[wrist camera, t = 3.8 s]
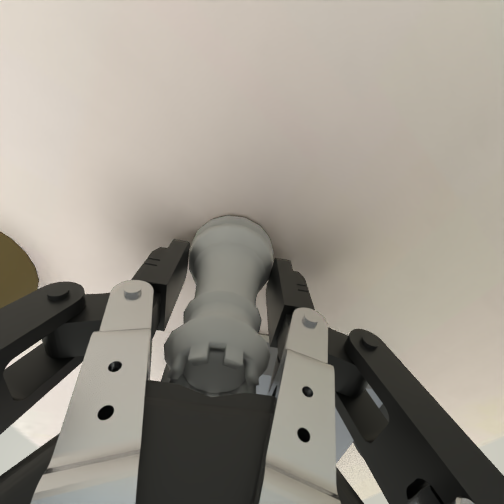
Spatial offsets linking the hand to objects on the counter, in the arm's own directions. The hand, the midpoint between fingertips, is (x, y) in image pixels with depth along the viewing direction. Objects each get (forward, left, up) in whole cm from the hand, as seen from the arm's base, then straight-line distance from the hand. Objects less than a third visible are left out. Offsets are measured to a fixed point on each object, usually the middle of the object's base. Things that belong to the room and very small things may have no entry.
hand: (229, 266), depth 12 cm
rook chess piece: (0, 0, -2) cm, 2 cm away
